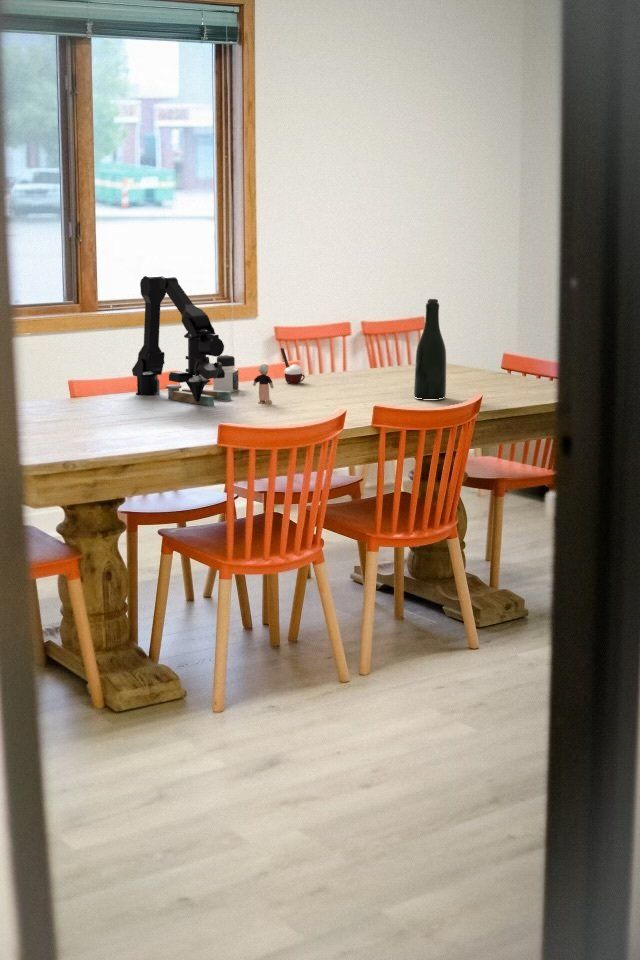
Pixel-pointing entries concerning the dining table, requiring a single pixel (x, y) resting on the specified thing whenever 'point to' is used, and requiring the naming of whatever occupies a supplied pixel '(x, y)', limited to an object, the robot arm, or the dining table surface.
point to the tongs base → (216, 393)
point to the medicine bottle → (227, 375)
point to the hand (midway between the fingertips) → (197, 401)
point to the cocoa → (292, 371)
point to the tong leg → (189, 398)
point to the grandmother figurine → (263, 384)
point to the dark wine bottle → (430, 357)
